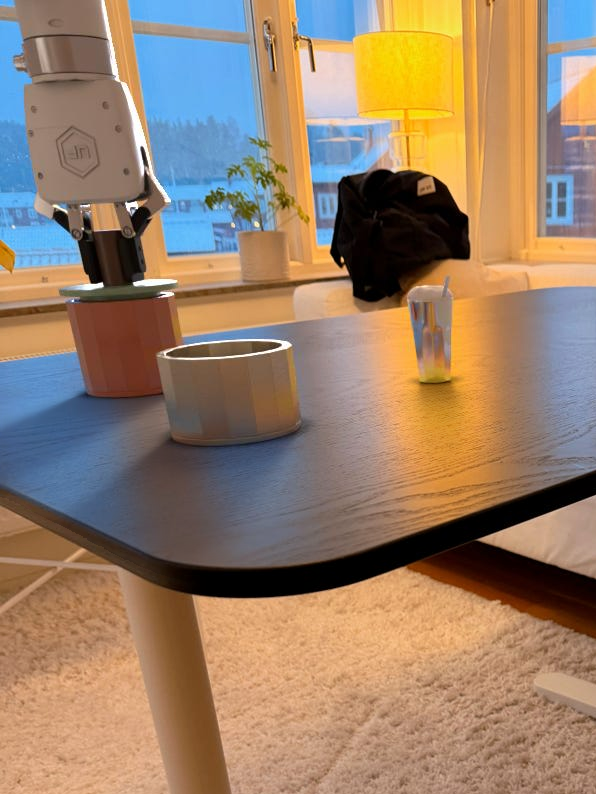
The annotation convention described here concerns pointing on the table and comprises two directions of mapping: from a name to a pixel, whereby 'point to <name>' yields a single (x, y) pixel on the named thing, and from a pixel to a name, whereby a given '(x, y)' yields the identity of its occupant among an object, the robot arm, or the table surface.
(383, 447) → the table surface
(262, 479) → the table surface
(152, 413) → the table surface
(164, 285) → the lid
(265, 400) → the tin
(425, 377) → the milkshake
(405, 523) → the table surface
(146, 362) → the cup
